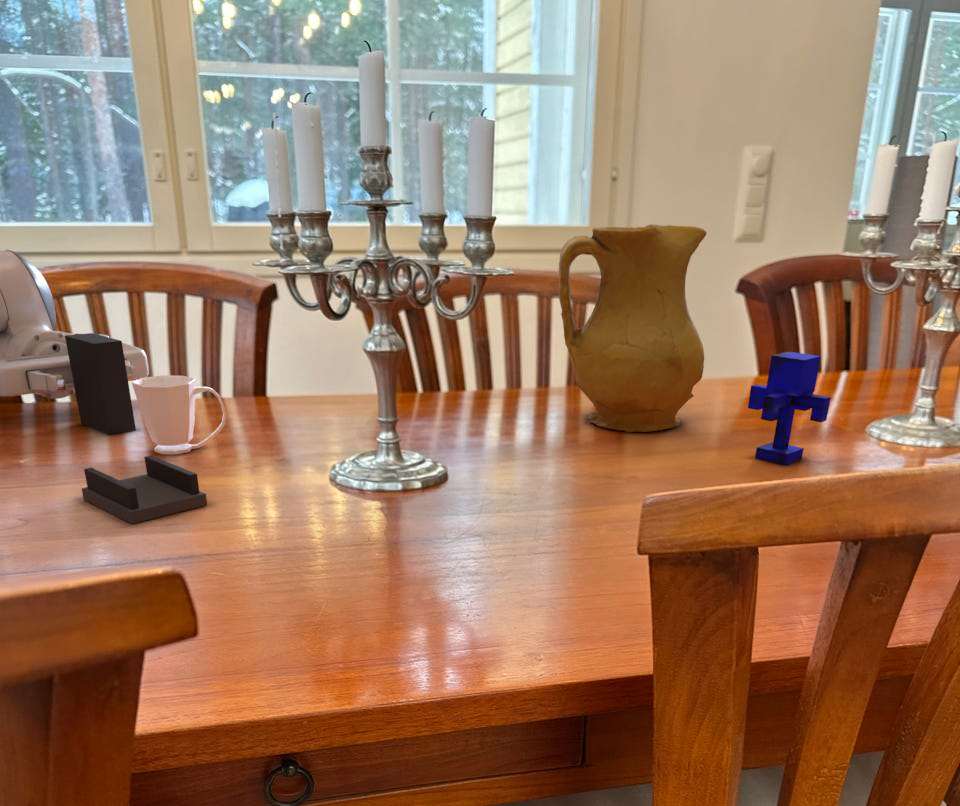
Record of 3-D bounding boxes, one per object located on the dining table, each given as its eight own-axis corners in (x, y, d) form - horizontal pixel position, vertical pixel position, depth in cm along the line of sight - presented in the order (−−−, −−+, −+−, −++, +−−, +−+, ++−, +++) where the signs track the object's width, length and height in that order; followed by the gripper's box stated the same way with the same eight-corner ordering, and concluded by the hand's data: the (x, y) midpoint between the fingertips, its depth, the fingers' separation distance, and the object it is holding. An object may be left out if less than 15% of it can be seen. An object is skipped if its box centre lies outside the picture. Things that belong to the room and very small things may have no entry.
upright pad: (109, 434, 112) (94, 343, 107) (81, 423, 117) (64, 335, 112) (136, 430, 114) (121, 340, 109) (106, 419, 119) (91, 333, 114)
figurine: (799, 450, 111) (818, 350, 106) (819, 468, 104) (841, 362, 99) (738, 449, 111) (754, 349, 106) (755, 467, 104) (773, 360, 99)
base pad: (132, 524, 84) (126, 491, 82) (83, 499, 90) (77, 468, 88) (207, 505, 89) (203, 473, 87) (156, 483, 95) (152, 453, 93)
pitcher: (672, 441, 112) (688, 221, 102) (541, 427, 121) (544, 225, 111) (716, 418, 126) (734, 222, 115) (595, 408, 135) (602, 225, 125)
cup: (140, 444, 108) (129, 376, 105) (225, 438, 112) (217, 371, 108) (145, 460, 102) (133, 388, 99) (233, 452, 106) (226, 383, 102)
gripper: (-38, 348, 114) (6, 362, 105) (115, 332, 127) (165, 344, 119) (-27, 398, 117) (17, 416, 108) (122, 378, 130) (171, 393, 122)
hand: (96, 378), depth 113 cm, fingers open, 8 cm apart
